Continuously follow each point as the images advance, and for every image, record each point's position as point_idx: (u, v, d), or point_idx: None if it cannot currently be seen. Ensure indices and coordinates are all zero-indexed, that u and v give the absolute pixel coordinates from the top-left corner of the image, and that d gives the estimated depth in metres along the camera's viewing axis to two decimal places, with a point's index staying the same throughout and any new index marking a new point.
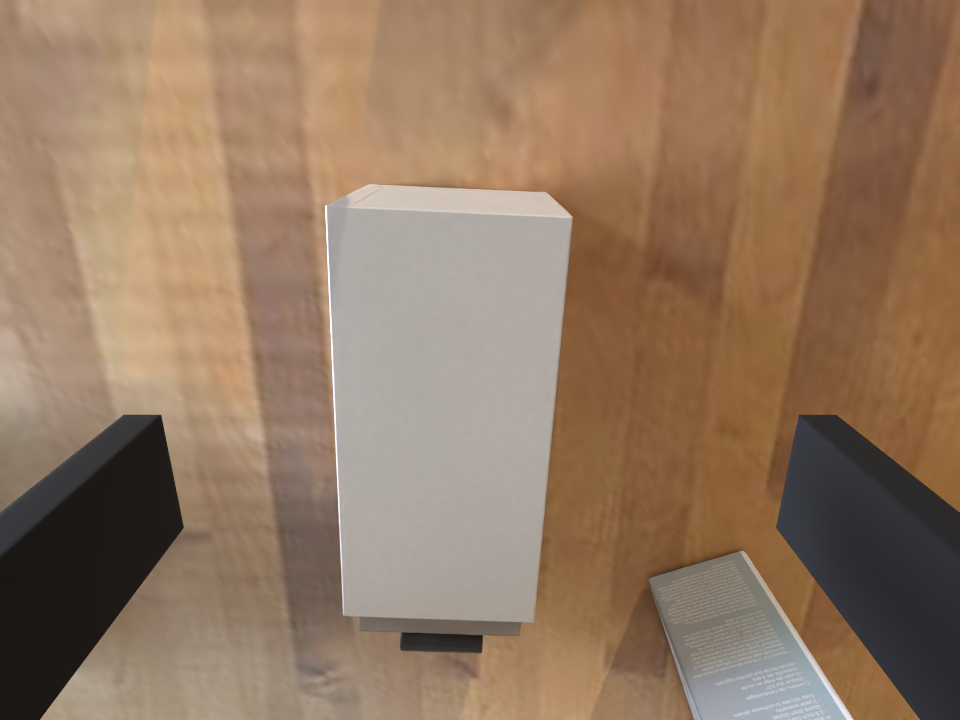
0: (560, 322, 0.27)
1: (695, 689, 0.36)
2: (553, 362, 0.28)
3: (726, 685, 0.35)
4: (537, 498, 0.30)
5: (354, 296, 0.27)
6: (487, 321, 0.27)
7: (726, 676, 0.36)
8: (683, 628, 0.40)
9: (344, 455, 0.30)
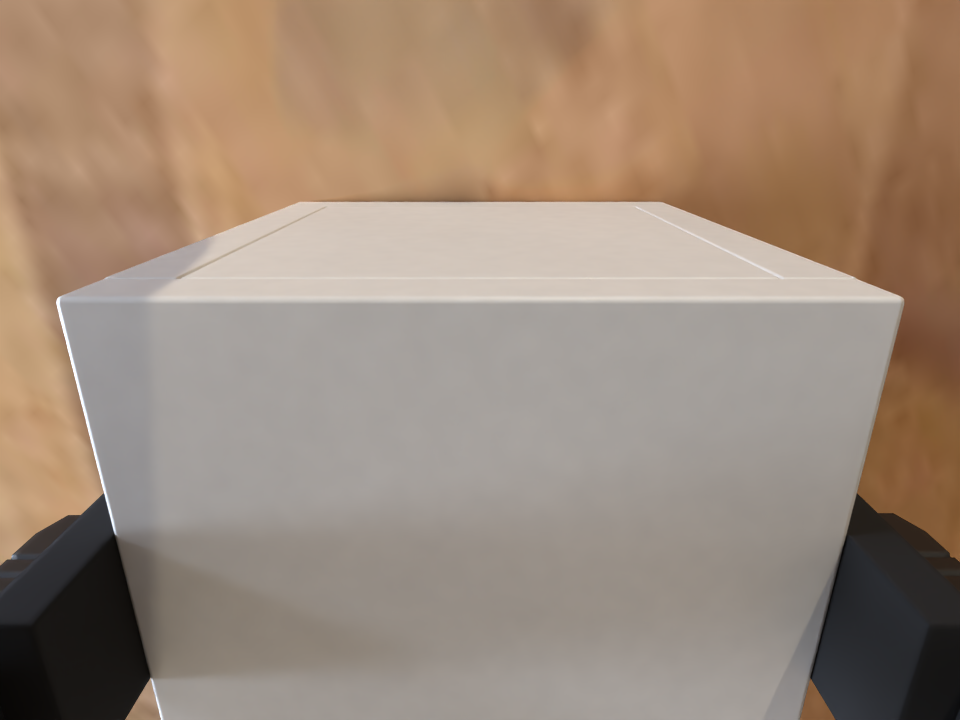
0: (824, 603, 0.09)
1: None
2: (791, 700, 0.10)
3: None
4: None
5: (196, 558, 0.09)
6: (603, 608, 0.09)
7: None
8: None
9: None
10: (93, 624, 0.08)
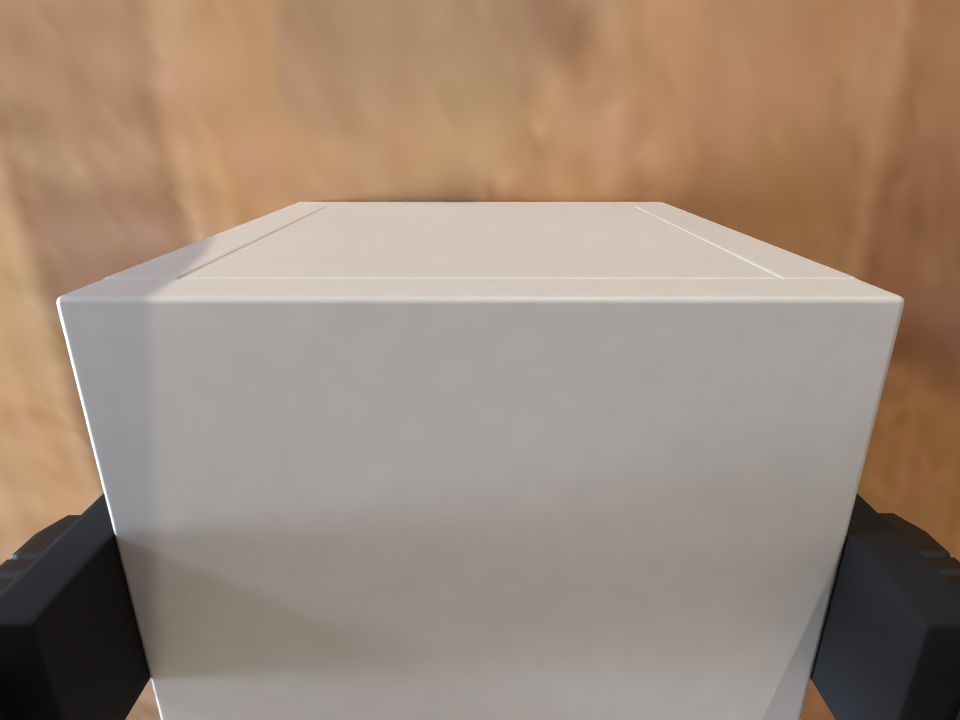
0: (824, 603, 0.09)
1: None
2: (791, 700, 0.10)
3: None
4: None
5: (196, 558, 0.09)
6: (603, 608, 0.09)
7: None
8: None
9: None
10: (93, 623, 0.08)
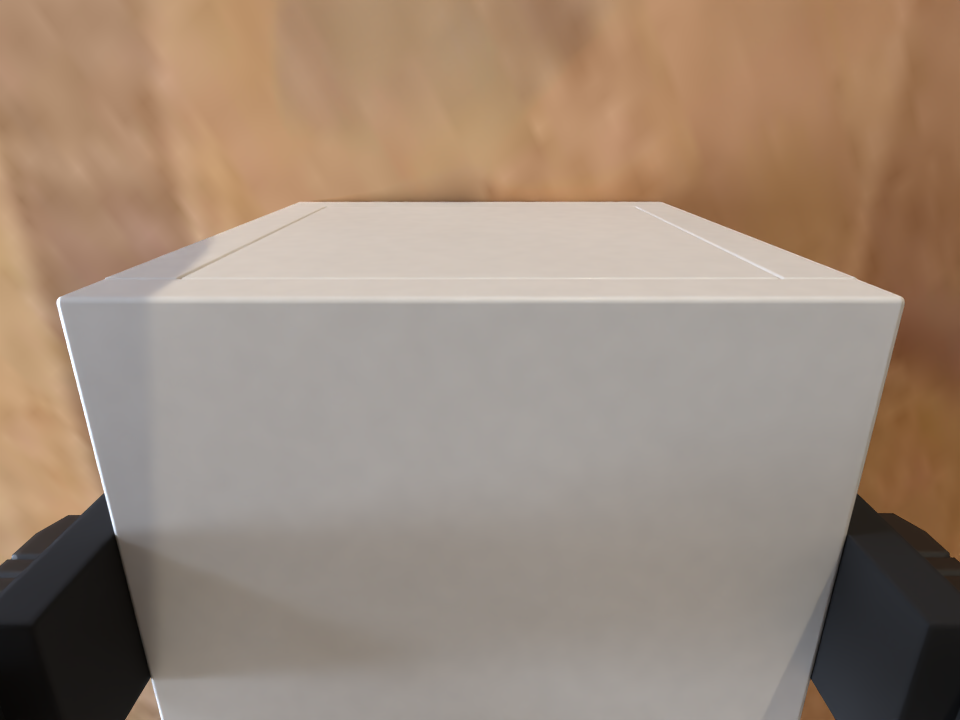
0: (824, 603, 0.09)
1: None
2: (791, 699, 0.10)
3: None
4: None
5: (196, 559, 0.09)
6: (603, 608, 0.09)
7: None
8: None
9: None
10: (94, 623, 0.08)
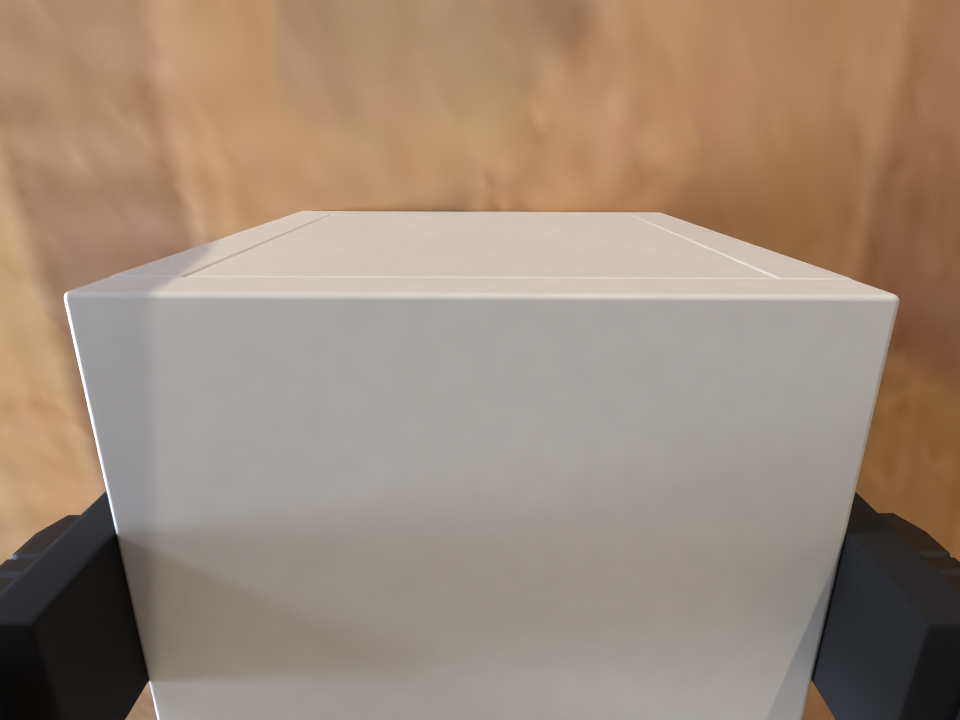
0: (824, 604, 0.09)
1: None
2: (792, 703, 0.10)
3: None
4: None
5: (196, 556, 0.09)
6: (603, 608, 0.09)
7: None
8: None
9: None
10: (93, 623, 0.08)
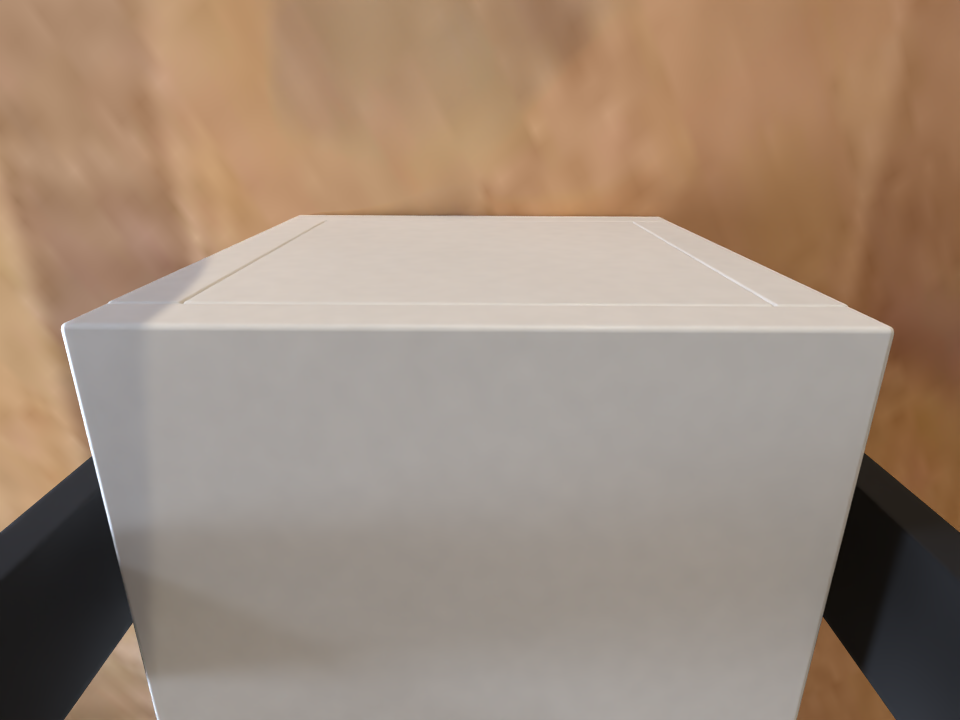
0: (815, 624, 0.09)
1: None
2: (783, 718, 0.10)
3: None
4: None
5: (196, 578, 0.09)
6: (598, 628, 0.09)
7: None
8: None
9: None
10: None
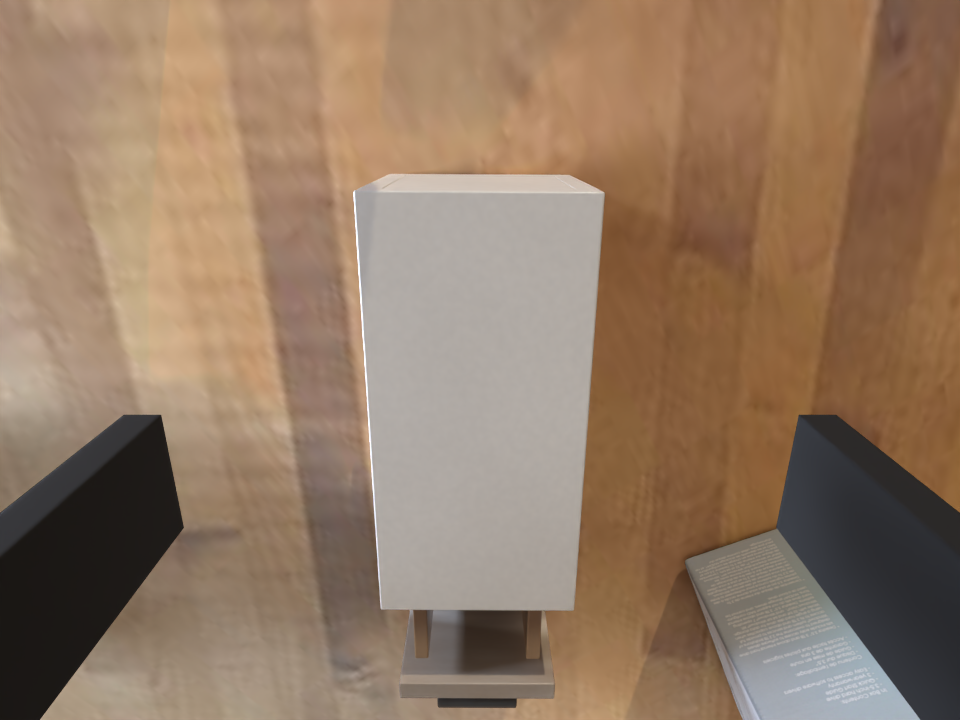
0: (594, 301, 0.27)
1: (742, 668, 0.35)
2: (588, 342, 0.27)
3: (774, 663, 0.34)
4: (574, 483, 0.30)
5: (384, 282, 0.26)
6: (520, 303, 0.27)
7: (773, 653, 0.35)
8: (724, 607, 0.39)
9: (378, 446, 0.29)
10: None
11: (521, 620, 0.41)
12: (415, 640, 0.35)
